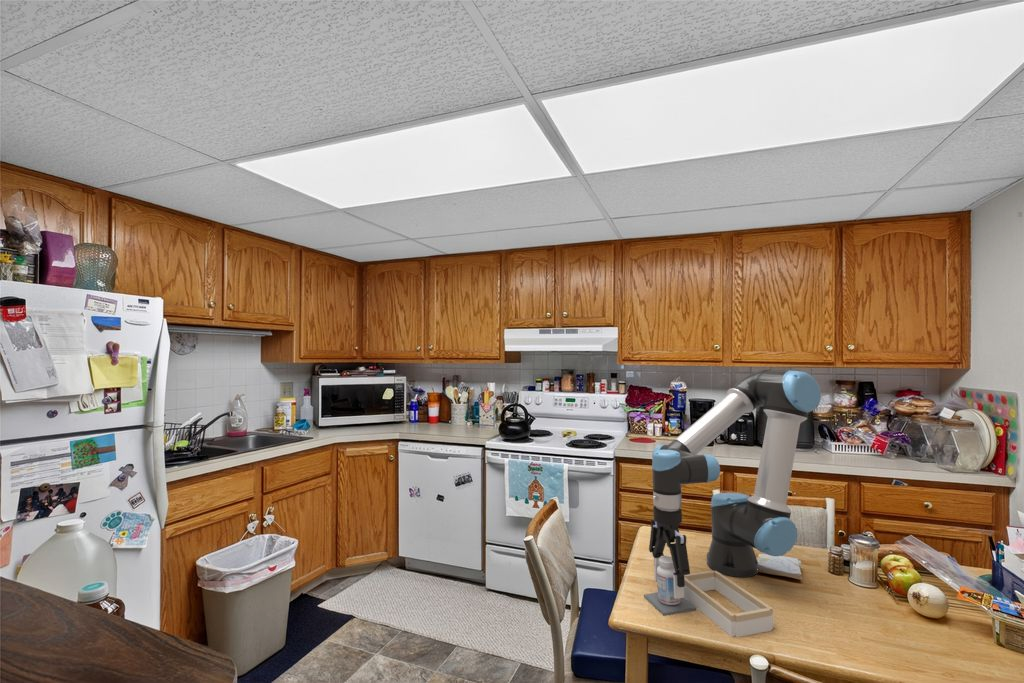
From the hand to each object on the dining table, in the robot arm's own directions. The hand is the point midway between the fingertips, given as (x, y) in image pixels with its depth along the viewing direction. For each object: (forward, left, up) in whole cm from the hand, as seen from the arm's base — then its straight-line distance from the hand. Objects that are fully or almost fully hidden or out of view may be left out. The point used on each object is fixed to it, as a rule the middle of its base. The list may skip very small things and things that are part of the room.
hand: (668, 588), depth 131 cm
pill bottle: (0, 0, -3) cm, 3 cm away
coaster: (0, 0, -4) cm, 4 cm away
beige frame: (-12, +7, -4) cm, 14 cm away
